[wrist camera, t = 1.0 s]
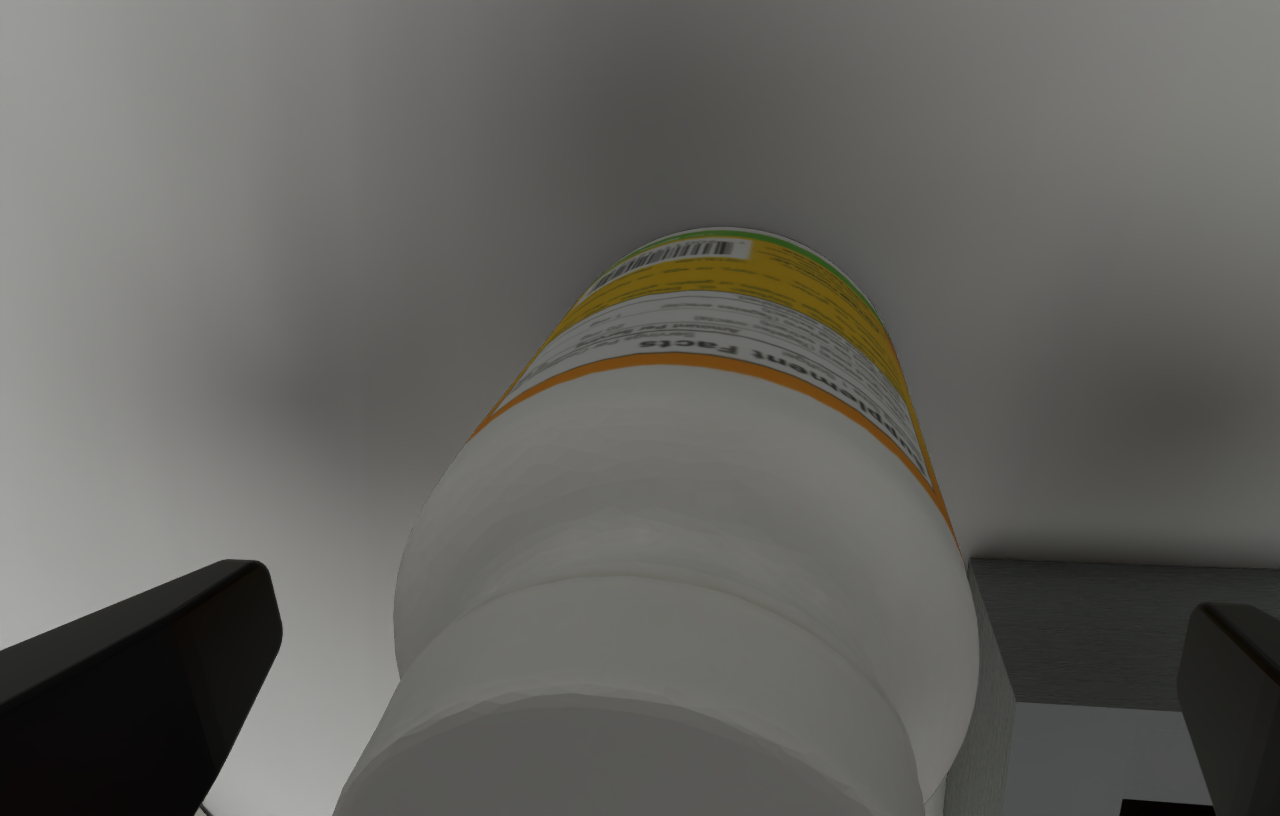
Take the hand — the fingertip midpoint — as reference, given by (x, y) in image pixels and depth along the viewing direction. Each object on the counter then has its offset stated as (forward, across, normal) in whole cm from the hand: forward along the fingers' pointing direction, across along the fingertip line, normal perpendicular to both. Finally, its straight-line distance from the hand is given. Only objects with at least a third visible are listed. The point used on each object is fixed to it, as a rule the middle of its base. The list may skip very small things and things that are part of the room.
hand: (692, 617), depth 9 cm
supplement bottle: (+6, 0, 0) cm, 6 cm away
